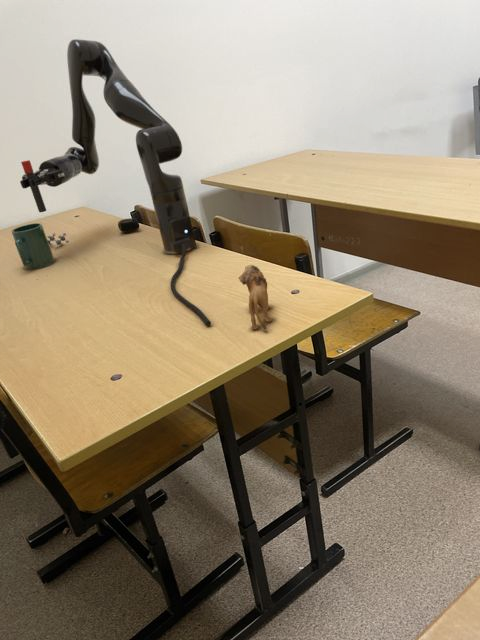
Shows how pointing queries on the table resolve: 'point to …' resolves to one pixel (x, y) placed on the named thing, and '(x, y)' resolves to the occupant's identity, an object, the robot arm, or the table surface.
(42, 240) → the mug
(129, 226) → the tape measure
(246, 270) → the brown animal figure
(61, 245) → the molecular model
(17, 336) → the table surface
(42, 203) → the marker
